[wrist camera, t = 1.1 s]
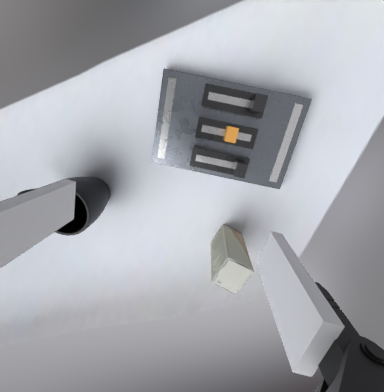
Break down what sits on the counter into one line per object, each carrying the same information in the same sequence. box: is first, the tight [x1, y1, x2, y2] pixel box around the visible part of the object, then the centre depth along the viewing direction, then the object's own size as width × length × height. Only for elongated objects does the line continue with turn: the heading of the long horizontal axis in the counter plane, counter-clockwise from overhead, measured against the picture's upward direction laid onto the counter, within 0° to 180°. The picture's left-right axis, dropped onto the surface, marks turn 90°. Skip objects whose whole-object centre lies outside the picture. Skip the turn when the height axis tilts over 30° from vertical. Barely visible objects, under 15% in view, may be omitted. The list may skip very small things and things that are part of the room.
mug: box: [17, 177, 110, 235], centre depth 35 cm, size 8×12×10 cm
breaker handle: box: [223, 126, 239, 143], centre depth 29 cm, size 2×2×3 cm
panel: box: [152, 69, 312, 189], centre depth 31 cm, size 14×22×6 cm, turn 79°
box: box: [211, 225, 254, 294], centre depth 35 cm, size 5×4×11 cm
